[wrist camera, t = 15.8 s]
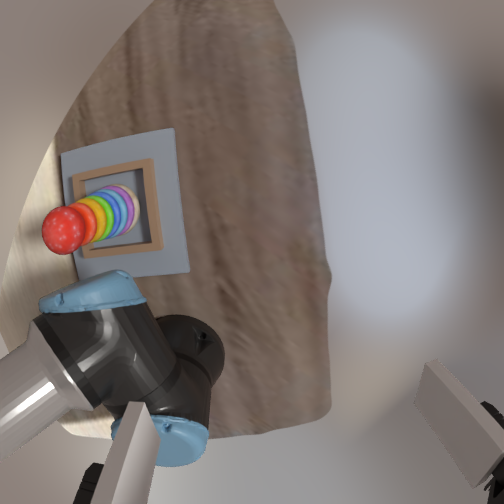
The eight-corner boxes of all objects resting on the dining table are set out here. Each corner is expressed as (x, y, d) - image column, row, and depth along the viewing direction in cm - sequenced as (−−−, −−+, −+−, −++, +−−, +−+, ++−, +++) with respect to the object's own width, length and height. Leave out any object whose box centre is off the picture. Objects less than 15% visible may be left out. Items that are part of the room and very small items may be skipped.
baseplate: (190, 270, 45) (187, 276, 42) (82, 279, 45) (74, 285, 42) (174, 129, 40) (169, 125, 37) (64, 154, 40) (54, 153, 36)
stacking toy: (87, 212, 41) (13, 234, 23) (116, 173, 40) (45, 172, 22) (121, 245, 43) (58, 285, 25) (151, 206, 42) (95, 226, 23)
